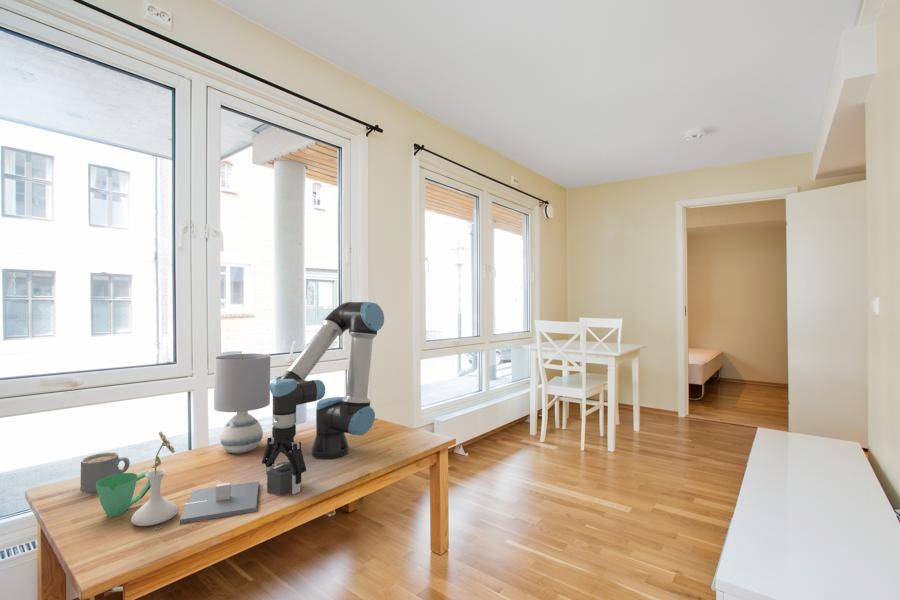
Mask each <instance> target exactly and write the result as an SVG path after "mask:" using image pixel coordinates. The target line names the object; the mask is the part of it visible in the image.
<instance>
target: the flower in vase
mask: <svg viewBox="0 0 900 600" xmlns="http://www.w3.org/2000/svg"><path fill="white" fill-rule="evenodd" d="M158 435H159V437H160V439H161V441H162V443H161V445H160V447H159V449H158V451H157V453H156V455H155V460H154V465H153V466H152V467H151V469H153V470H151V471H149V472H148V473H146V474H145V476H146V477H145V478H147V480H148V479H149V481H150V485H151V487H150V497H149V498H148V500H147V501H146V502H145V503H144V504H143V505H141V506H140V507H139V508H138V509H137V510H136V511H135V512H134V513H133V514H132V516H131V518H130V523H132V525H135V526H139V527H149V526H154V525H159V524H161V523H164V522H167V521H168V520H170V519H172V518H173V517H175V516H176V514H178V511H179V507H178V505H177V504H176V503H175V502H173V501H171V500H169V499H166V498H164V497H163V496H162V495H161V484H162V479H163V477H164V475H165V474H166V473H167V470H166V469H157V467H159V466H161V465H162V460H161V459H160V456H159V455H160V454H159V453H160V451H161V450H162V447H166V448H167V450H168V451H169V452H170V453H171V454H174V453H176V451H175V448H174V446H172V445H171V442H170V440H167V436H166V435H165V434H164V433H163V431H159V432H158Z"/></svg>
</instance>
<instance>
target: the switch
mask: <svg viewBox="0 0 900 600" xmlns="http://www.w3.org/2000/svg"><path fill="white" fill-rule="evenodd" d="M259 484H260V482H259V481H258V480H257V481H252V482H244V483H238V484H237V483H236V484H232V483H231V481H230V482H222V483H216V486H215V487H208V488H202V489H195V490H192V492H190V493H191V494H190V496H189V497H188V501H187V502H185V503H184V505H185V508H184V509H183V512H182V514H181V516H180V518H179V525H182V524H187V523H193V522H199V521H205V520H211V519H217V518H222V517H224V518H225V517H228V516H234V515H241V514H247V513H253V512H257V507H258V506H257V505H258V496H259V495H258V494H259V486H260V485H259Z"/></svg>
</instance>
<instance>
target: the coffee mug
mask: <svg viewBox="0 0 900 600" xmlns="http://www.w3.org/2000/svg"><path fill="white" fill-rule="evenodd" d="M121 461H123V462H124V466H123V467H122V468H119V464H120V462H121ZM130 464H131V462H130V459H129V458H128V457H127V456H123V455H122V456H119V453H118V452H108V451H107V452H101V453H95V454H91V455H89V456H86V457H84V458H82V459H80V492H81V491H82V492H81V493H83V492H86V493H85V494H91V493H90V492H94V493H98V492H97V488H96V484H97V482H98V481H99V480H101V479H103V478H106V477H109V476H112V475H116V474H122V473H127V471H128V470H129V468H130V466H131V465H130Z"/></svg>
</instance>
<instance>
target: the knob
mask: <svg viewBox="0 0 900 600" xmlns="http://www.w3.org/2000/svg"><path fill="white" fill-rule="evenodd" d="M297 470H298V469H297ZM292 474H294V471H293V469H292V467H291V464H290V462H289V461H281V462H279V463H277V464H275V467H274V469H272V470H269V471H267V474H266V492H267V493H270V494H272V495H276V496H279V497H281V496H283V495H286V494H287V493H289V492H292Z"/></svg>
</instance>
